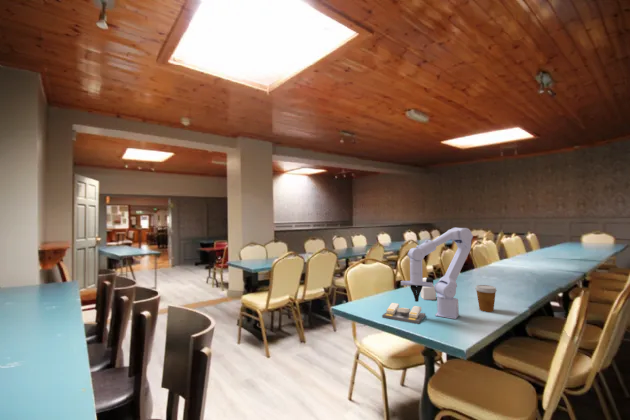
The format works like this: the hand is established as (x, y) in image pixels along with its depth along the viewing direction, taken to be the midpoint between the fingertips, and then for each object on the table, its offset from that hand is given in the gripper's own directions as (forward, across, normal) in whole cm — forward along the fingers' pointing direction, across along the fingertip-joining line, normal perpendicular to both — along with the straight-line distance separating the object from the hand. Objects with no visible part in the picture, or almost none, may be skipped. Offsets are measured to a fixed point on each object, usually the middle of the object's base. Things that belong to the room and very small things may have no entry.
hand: (416, 301), depth 150 cm
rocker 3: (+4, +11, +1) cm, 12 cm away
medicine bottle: (+8, -3, -38) cm, 39 cm away
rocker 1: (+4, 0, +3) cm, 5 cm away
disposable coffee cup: (+8, -32, -23) cm, 40 cm away
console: (+8, +6, +2) cm, 10 cm away
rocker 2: (+4, +6, +2) cm, 8 cm away
